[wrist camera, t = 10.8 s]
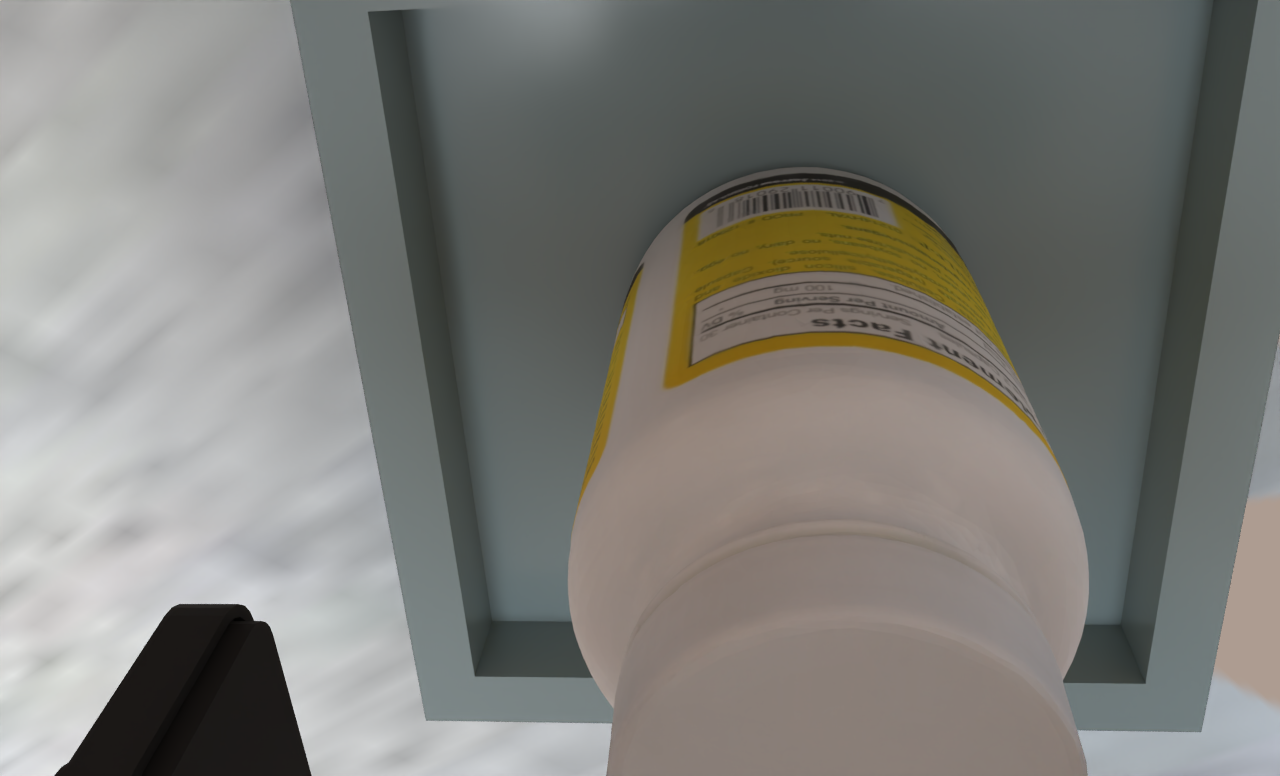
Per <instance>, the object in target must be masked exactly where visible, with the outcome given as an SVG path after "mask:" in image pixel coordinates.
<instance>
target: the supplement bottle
mask: <svg viewBox="0 0 1280 776" xmlns="http://www.w3.org/2000/svg"><path fill="white" fill-rule="evenodd" d="M568 597H569V607H570V614H571V619H572V624H573V629H574V633H575V636H576V639H577V642H578V645H579V648H580V650H581V653H582V656H583V658H584V660H585V662H586V664H587V667H588V669H589V671H590V673H591V675H592V677H593V679H594V680H595V682H596V684H597V685H598V687H599V689H600V690H601V692H602V693H603V695H604V696H605V698H606V699H607V700H608V702H609V703H610V705H611V706H612V707H613V708H614V712H613V722H612V731H611V742H610V750H609V758H608V767H607V775H606V776H1088V774H1087V765H1086V759H1085V756H1084V753H1083V749H1082V746H1081V742H1080V739H1079V735H1078V732H1077V729H1076V725H1075V722H1074V718H1073V715H1072V712H1071V708H1070V705H1069V702H1068V698H1067V695H1066V692H1065V687H1064V683H1063V679H1064V677H1065V675H1066V673H1067V671H1068V669H1069V667H1070V665H1071V663H1072V661H1073V659H1074V657H1075V654H1076V651H1077V648H1078V646H1079V643H1080V640H1081V637H1082V633H1083V629H1084V624H1085V620H1086V615H1087V606H1088V598H1089V568H1088V557H1087V549H1086V544H1085V539H1084V533H1083V530H1082V527H1081V523H1080V520H1079V517H1078V514H1077V511H1076V508H1075V505H1074V502H1073V499H1072V496H1071V493H1070V490H1069V488H1068V485H1067V482H1066V480H1065V478H1064V475H1063V473H1062V471H1061V469H1060V466H1059V464H1058V462H1057V460H1056V457H1055V455H1054V453H1053V451H1052V449H1051V447H1050V445H1049V443H1048V440H1047V438H1046V436H1045V434H1044V432H1043V430H1042V428H1041V426H1040V424H1039V421H1038V419H1037V417H1036V414H1035V412H1034V410H1033V408H1032V406H1031V404H1030V402H1029V399H1028V397H1027V395H1026V392H1025V390H1024V388H1023V386H1022V383H1021V381H1020V379H1019V377H1018V375H1017V373H1016V370H1015V368H1014V366H1013V364H1012V362H1011V360H1010V358H1009V355H1008V353H1007V351H1006V349H1005V346H1004V344H1003V342H1002V340H1001V338H1000V336H999V334H998V332H997V329H996V327H995V325H994V323H993V321H992V318H991V316H990V314H989V312H988V309H987V307H986V305H985V303H984V301H983V299H982V297H981V295H980V293H979V290H978V288H977V286H976V284H975V282H974V280H973V278H972V276H971V274H970V272H969V271H968V268H967V266H966V264H965V263H964V261H963V259H962V258H961V256H960V254H959V253H958V251H957V249H956V247H955V246H954V244H953V243H952V241H951V240H950V239H949V238H948V236H947V235H946V234H945V233H944V232H943V230H942V229H941V228H940V227H939V226H938V224H937V223H936V222H935V221H934V220H933V219H932V218H931V217H930V216H929V215H927V214H926V213H925V212H924V211H923V210H922V209H920V208H919V207H918V206H916V205H915V204H914V203H912V202H911V201H910V200H908V199H907V198H906V197H904V196H903V195H901V194H900V193H898V192H897V191H895V190H893V189H891V188H889V187H887V186H885V185H883V184H881V183H879V182H876V181H874V180H871V179H869V178H866V177H864V176H860V175H856V174H852V173H849V172H844V171H839V170H833V169H827V168H820V167H791V168H779V169H773V170H768V171H762V172H757V173H754V174H750V175H747V176H744V177H741V178H738V179H735V180H733V181H730V182H728V183H725V184H723V185H721V186H719V187H717V188H715V189H713V190H711V191H710V192H708V193H706V194H705V195H703V196H701V197H700V198H698V199H697V200H695V201H694V202H693V203H691V204H690V205H688V206H687V207H686V208H684V209H683V210H682V211H681V212H680V213H679V214H678V215H677V216H675V217H674V218H673V219H672V220H671V221H670V222H669V223H668V224H667V225H666V226H665V227H664V228H663V230H662V231H661V232H660V233H659V234H658V236H657V237H656V238H655V239H654V241H653V242H652V244H651V245H650V247H649V248H648V250H647V251H646V253H645V254H644V256H643V258H642V260H641V262H640V264H639V266H638V268H637V270H636V272H635V274H634V276H633V279H632V282H631V284H630V287H629V290H628V293H627V296H626V299H625V302H624V306H623V310H622V314H621V317H620V320H619V324H618V328H617V333H616V338H615V343H614V348H613V352H612V357H611V361H610V366H609V370H608V375H607V379H606V383H605V387H604V392H603V397H602V401H601V405H600V409H599V413H598V418H597V422H596V428H595V432H594V436H593V440H592V444H591V450H590V455H589V459H588V463H587V467H586V471H585V476H584V480H583V484H582V489H581V493H580V497H579V502H578V506H577V511H576V515H575V520H574V524H573V529H572V534H571V547H570V555H569V561H568Z"/></svg>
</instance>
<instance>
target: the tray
mask: <svg viewBox="0 0 1280 776" xmlns="http://www.w3.org/2000/svg"><path fill="white" fill-rule="evenodd" d="M290 2H291V7H292V12H293V18H294V23H295V28H296V34H297V39H298V44H299V50H300V55H301V60H302V65H303V71H304V76H305V81H306V87H307V92H308V97H309V103H310V108H311V113H312V119H313V124H314V129H315V134H316V140H317V145H318V150H319V156H320V161H321V166H322V172H323V177H324V182H325V187H326V193H327V198H328V203H329V209H330V214H331V219H332V225H333V230H334V235H335V241H336V246H337V251H338V256H339V262H340V267H341V272H342V278H343V283H344V288H345V294H346V299H347V304H348V310H349V315H350V320H351V325H352V331H353V336H354V341H355V347H356V352H357V357H358V363H359V368H360V373H361V379H362V384H363V389H364V394H365V400H366V405H367V410H368V416H369V421H370V426H371V432H372V437H373V442H374V448H375V453H376V458H377V463H378V469H379V474H380V479H381V485H382V490H383V495H384V501H385V506H386V511H387V517H388V522H389V527H390V532H391V538H392V543H393V548H394V554H395V559H396V564H397V570H398V575H399V580H400V586H401V591H402V596H403V601H404V607H405V612H406V617H407V623H408V628H409V633H410V639H411V644H412V649H413V655H414V660H415V665H416V670H417V676H418V681H419V686H420V692H421V697H422V702H423V708H424V713H425V718H426V720H427V721H494V722H561V723H612V722H613V712H614V708H613V707H612V706H611V705H610V703H609V702H608V700H607V699H606V698H605V696H604V695H603V693H602V692H601V690H600V689H599V687H598V685H597V684H596V682H595V680H594V679H593V677H592V675H591V673H590V671H589V669H588V667H587V664H586V662H585V660H584V658H583V656H582V653H581V650H580V648H579V645H578V642H577V639H576V636H575V633H574V629H573V624H572V619H571V614H570V607H569V597H568V561H569V555H570V547H571V534H572V529H573V524H574V520H575V515H576V511H577V506H578V502H579V497H580V493H581V489H582V484H583V480H584V476H585V471H586V467H587V463H588V459H589V455H590V450H591V444H592V440H593V436H594V432H595V428H596V422H597V418H598V413H599V409H600V405H601V401H602V397H603V392H604V387H605V383H606V379H607V375H608V370H609V366H610V361H611V357H612V352H613V348H614V343H615V338H616V333H617V328H618V324H619V320H620V317H621V314H622V310H623V306H624V302H625V299H626V296H627V293H628V290H629V287H630V284H631V282H632V279H633V276H634V274H635V272H636V270H637V268H638V266H639V264H640V262H641V260H642V258H643V256H644V254H645V253H646V251H647V250H648V248H649V247H650V245H651V244H652V242H653V241H654V239H655V238H656V237H657V236H658V234H659V233H660V232H661V231H662V230H663V228H664V227H665V226H666V225H667V224H668V223H669V222H670V221H671V220H672V219H673V218H674V217H675V216H677V215H678V214H679V213H680V212H681V211H682V210H683V209H684V208H686V207H687V206H688V205H690V204H691V203H693V202H694V201H695V200H697V199H698V198H700V197H701V196H703V195H705V194H706V193H708V192H710V191H711V190H713V189H715V188H717V187H719V186H721V185H723V184H725V183H728V182H730V181H733V180H735V179H738V178H741V177H744V176H747V175H750V174H754V173H757V172H762V171H768V170H773V169H779V168H791V167H820V168H827V169H833V170H839V171H844V172H849V173H852V174H856V175H860V176H864V177H866V178H869V179H871V180H874V181H876V182H879V183H881V184H883V185H885V186H887V187H889V188H891V189H893V190H895V191H897V192H898V193H900V194H901V195H903V196H904V197H906V198H907V199H908V200H910V201H911V202H912V203H914V204H915V205H916V206H918V207H919V208H920V209H922V210H923V211H924V212H925V213H926V214H927V215H929V216H930V217H931V218H932V219H933V220H934V221H935V222H936V223H937V224H938V226H939V227H940V228H941V229H942V230H943V232H944V233H945V234H946V235H947V236H948V238H949V239H950V240H951V241H952V243H953V244H954V246H955V247H956V249H957V251H958V253H959V254H960V256H961V258H962V259H963V261H964V263H965V264H966V266H967V268H968V271H969V272H970V274H971V276H972V278H973V280H974V282H975V284H976V286H977V288H978V290H979V293H980V295H981V297H982V299H983V301H984V303H985V305H986V307H987V309H988V312H989V314H990V316H991V318H992V321H993V323H994V325H995V327H996V329H997V332H998V334H999V336H1000V338H1001V340H1002V342H1003V344H1004V346H1005V349H1006V351H1007V353H1008V355H1009V358H1010V360H1011V362H1012V364H1013V366H1014V368H1015V370H1016V373H1017V375H1018V377H1019V379H1020V381H1021V383H1022V386H1023V388H1024V390H1025V392H1026V395H1027V397H1028V399H1029V402H1030V404H1031V406H1032V408H1033V410H1034V412H1035V414H1036V417H1037V419H1038V421H1039V424H1040V426H1041V428H1042V430H1043V432H1044V434H1045V436H1046V438H1047V440H1048V443H1049V445H1050V447H1051V449H1052V451H1053V453H1054V455H1055V457H1056V460H1057V462H1058V464H1059V466H1060V469H1061V471H1062V473H1063V475H1064V478H1065V480H1066V482H1067V485H1068V488H1069V490H1070V493H1071V496H1072V499H1073V502H1074V505H1075V508H1076V511H1077V514H1078V517H1079V520H1080V523H1081V527H1082V530H1083V533H1084V539H1085V544H1086V549H1087V557H1088V568H1089V598H1088V606H1087V615H1086V620H1085V624H1084V629H1083V633H1082V637H1081V640H1080V643H1079V646H1078V648H1077V651H1076V654H1075V657H1074V659H1073V661H1072V663H1071V665H1070V667H1069V669H1068V671H1067V673H1066V675H1065V677H1064V679H1063V683H1064V687H1065V692H1066V695H1067V698H1068V702H1069V705H1070V708H1071V712H1072V715H1073V718H1074V722H1075V725H1076V729H1077V730H1097V731H1164V732H1201V730H1202V725H1203V720H1204V715H1205V710H1206V705H1207V700H1208V695H1209V690H1210V685H1211V680H1212V674H1213V669H1214V664H1215V659H1216V654H1217V649H1218V643H1219V639H1220V634H1221V629H1222V624H1223V619H1224V613H1225V608H1226V603H1227V598H1228V593H1229V588H1230V583H1231V578H1232V573H1233V567H1234V563H1235V557H1236V552H1237V547H1238V542H1239V537H1240V532H1241V527H1242V522H1243V517H1244V512H1245V507H1246V502H1247V497H1248V492H1249V487H1250V481H1251V476H1252V471H1253V466H1254V461H1255V456H1256V451H1257V446H1258V441H1259V436H1260V431H1261V426H1262V420H1263V415H1264V410H1265V405H1266V400H1267V395H1268V390H1269V385H1270V380H1271V375H1272V370H1273V365H1274V360H1275V354H1276V349H1277V344H1278V339H1279V334H1280V0H290Z"/></svg>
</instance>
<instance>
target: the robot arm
mask: <svg viewBox="0 0 1280 776" xmlns="http://www.w3.org/2000/svg"><path fill="white" fill-rule="evenodd" d="M55 776H311V772H310V769H309V765H308V761H307V758H306V754H305V750H304V747H303V743H302V739H301V736H300V732H299V728H298V725H297V721H296V717H295V714H294V710H293V706H292V703H291V699H290V696H289V692H288V688H287V685H286V681H285V677H284V674H283V670H282V666H281V663H280V659H279V655H278V652H277V648H276V644H275V641H274V637H273V634H272V631H271V629H270V627H269V625H268V624H267V623H266V622H262V621H254V620H253V618H252V615H251V613H250V611H249V610H248V609H247V608H246V607H245V606H243V605H239V604H179V605H177V606H174V607H172V608H171V609H170V610H169V612H168V613H167V614H166V615H165V616H164V618H163V619H162V621H161V622H160V624H159V625H158V627H157V628H156V630H155V632H154V633H153V635H152V636H151V638H150V639H149V641H148V642H147V644H146V645H145V647H144V648H143V650H142V651H141V653H140V654H139V656H138V657H137V659H136V661H135V662H134V664H133V665H132V667H131V668H130V670H129V671H128V673H127V674H126V676H125V677H124V679H123V680H122V682H121V683H120V685H119V687H118V688H117V690H116V691H115V693H114V694H113V696H112V697H111V699H110V700H109V702H108V703H107V705H106V706H105V708H104V709H103V711H102V713H101V714H100V716H99V717H98V719H97V720H96V722H95V723H94V725H93V726H92V728H91V729H90V731H89V732H88V734H87V735H86V737H85V739H84V740H83V742H82V743H81V745H80V746H79V748H78V749H77V751H76V752H75V754H74V755H73V757H72V758H71V760H70V761H69V763H67V764H66V765H64V766H62V767H61V768H60V770H59V771H58V772H57V773H56V774H55Z"/></svg>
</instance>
